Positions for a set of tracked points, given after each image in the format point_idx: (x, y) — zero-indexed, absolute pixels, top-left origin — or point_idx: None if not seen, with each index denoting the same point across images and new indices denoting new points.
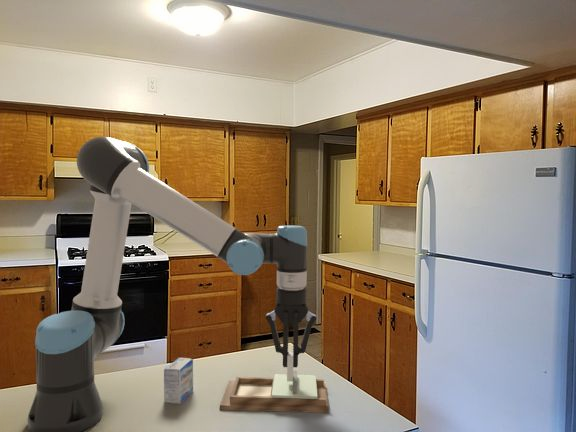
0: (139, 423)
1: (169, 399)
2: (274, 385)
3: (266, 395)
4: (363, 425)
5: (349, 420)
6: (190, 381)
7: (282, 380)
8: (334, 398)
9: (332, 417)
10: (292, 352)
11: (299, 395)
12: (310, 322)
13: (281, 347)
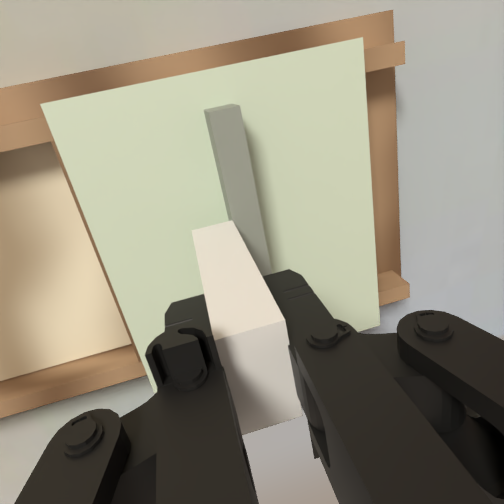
0: None
1: None
2: (124, 290)
3: (89, 286)
4: (500, 326)
5: (461, 313)
6: None
7: (148, 203)
8: (423, 152)
9: (405, 315)
10: (274, 330)
11: None
12: None
13: (155, 494)
